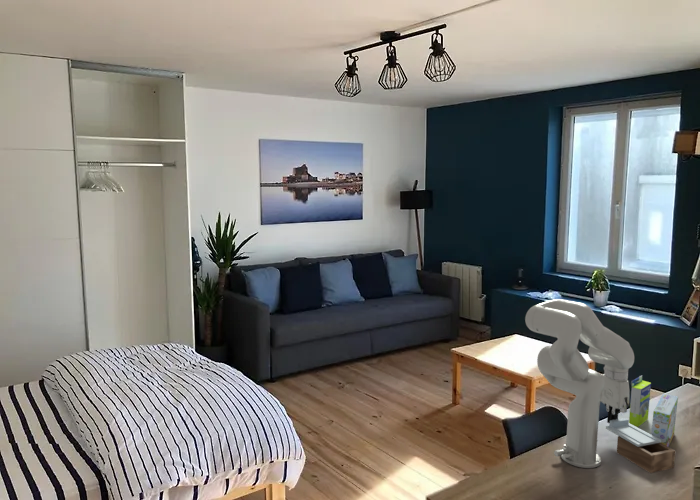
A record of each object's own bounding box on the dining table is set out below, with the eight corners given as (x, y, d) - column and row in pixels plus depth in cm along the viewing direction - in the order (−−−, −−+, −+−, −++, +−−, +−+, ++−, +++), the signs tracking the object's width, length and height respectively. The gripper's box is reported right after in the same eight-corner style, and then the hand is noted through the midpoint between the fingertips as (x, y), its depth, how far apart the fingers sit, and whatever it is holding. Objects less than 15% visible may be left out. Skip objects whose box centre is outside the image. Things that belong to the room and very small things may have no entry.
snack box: (666, 457, 189) (670, 415, 187) (648, 452, 192) (651, 410, 190) (675, 434, 205) (678, 395, 203) (658, 430, 209) (661, 391, 207)
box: (638, 427, 210) (642, 384, 208) (627, 424, 213) (630, 381, 211) (649, 419, 217) (652, 377, 215) (638, 416, 220) (641, 374, 218)
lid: (638, 446, 182) (638, 438, 182) (605, 428, 195) (606, 421, 195) (661, 442, 186) (661, 434, 185) (627, 424, 199) (628, 417, 198)
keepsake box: (650, 473, 178) (651, 455, 177) (616, 452, 191) (617, 436, 190) (673, 468, 181) (675, 450, 181) (639, 448, 194) (640, 432, 194)
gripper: (591, 368, 202) (588, 416, 205) (624, 382, 188) (620, 433, 191) (607, 366, 205) (604, 413, 207) (641, 380, 191) (637, 430, 193)
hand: (612, 423), depth 199 cm, fingers closed
